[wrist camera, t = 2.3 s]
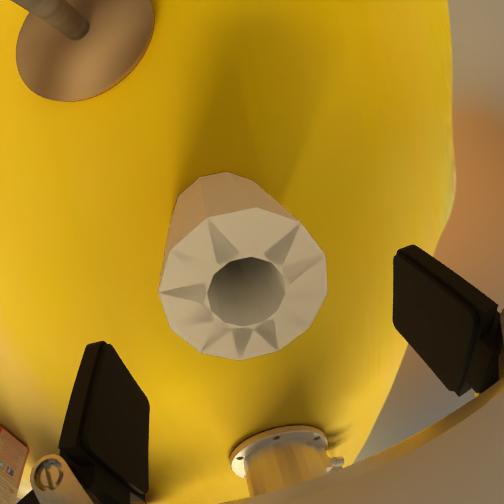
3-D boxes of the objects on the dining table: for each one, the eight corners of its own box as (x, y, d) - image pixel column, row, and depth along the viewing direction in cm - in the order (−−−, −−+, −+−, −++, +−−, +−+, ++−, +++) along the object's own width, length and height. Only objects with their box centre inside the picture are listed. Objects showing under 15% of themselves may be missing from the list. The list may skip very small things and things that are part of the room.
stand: (178, -13, 15) (175, -124, 4) (120, 115, 18) (38, 104, 7) (58, -28, 12) (-12, -102, 1) (6, 91, 15) (-111, 86, 4)
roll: (286, 192, 22) (352, 241, 13) (250, 279, 24) (287, 367, 15) (190, 159, 20) (190, 185, 11) (160, 254, 22) (145, 340, 13)
